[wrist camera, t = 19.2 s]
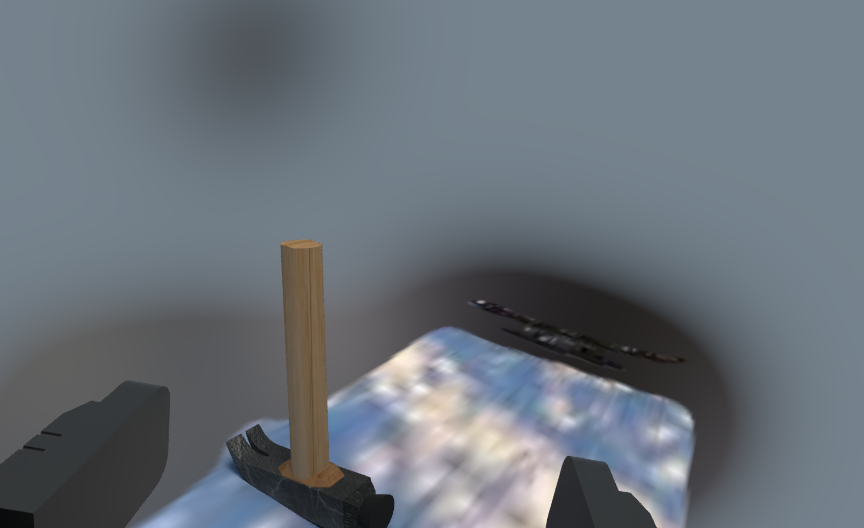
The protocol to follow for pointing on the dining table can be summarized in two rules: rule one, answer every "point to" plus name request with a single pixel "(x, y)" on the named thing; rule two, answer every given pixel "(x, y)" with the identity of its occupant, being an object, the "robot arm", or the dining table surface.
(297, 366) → the hammer
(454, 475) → the dining table surface
